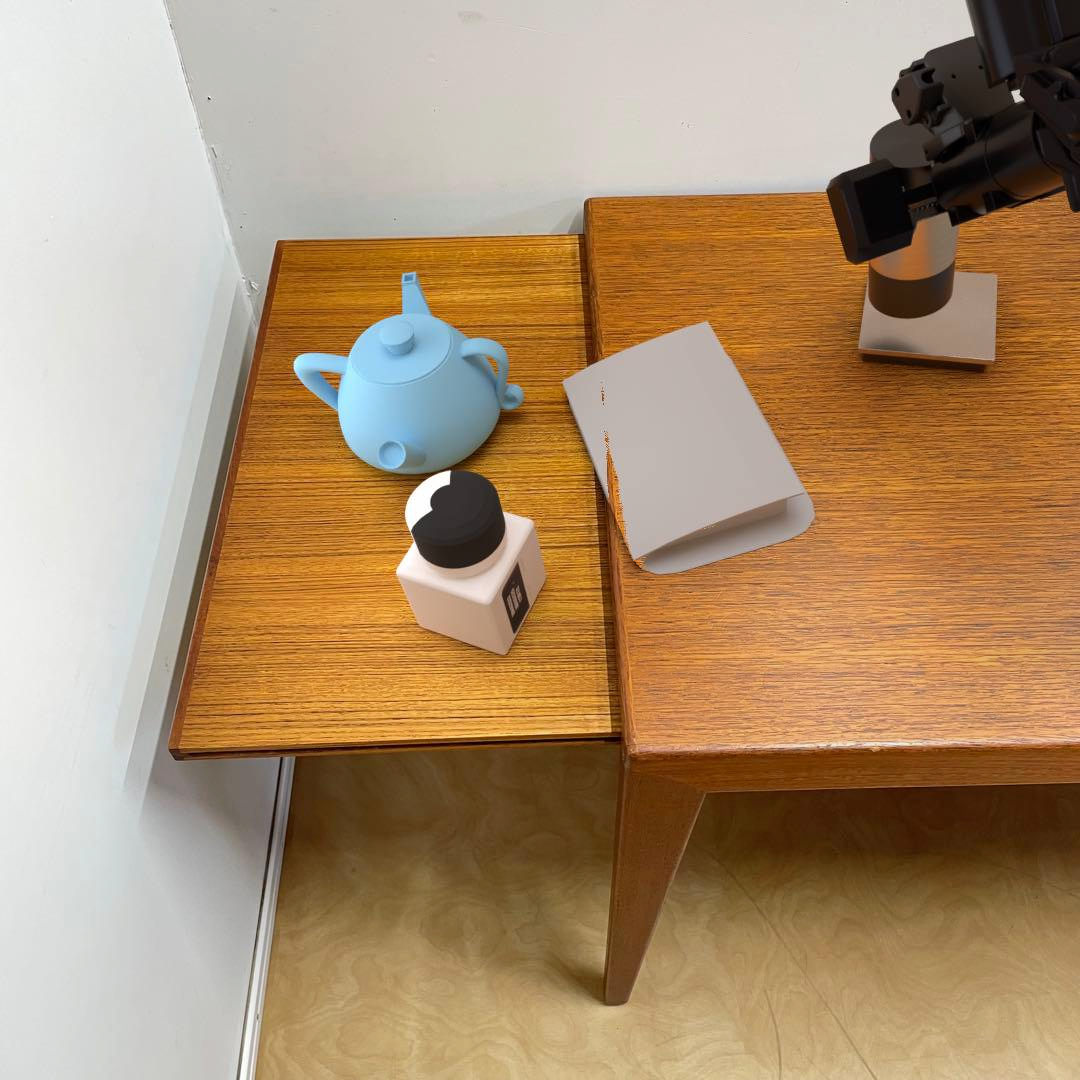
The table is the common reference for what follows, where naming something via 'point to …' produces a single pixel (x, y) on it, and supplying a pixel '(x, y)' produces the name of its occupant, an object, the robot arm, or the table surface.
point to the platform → (938, 330)
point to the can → (929, 263)
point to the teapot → (414, 389)
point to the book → (687, 452)
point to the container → (469, 561)
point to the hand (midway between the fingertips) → (902, 208)
